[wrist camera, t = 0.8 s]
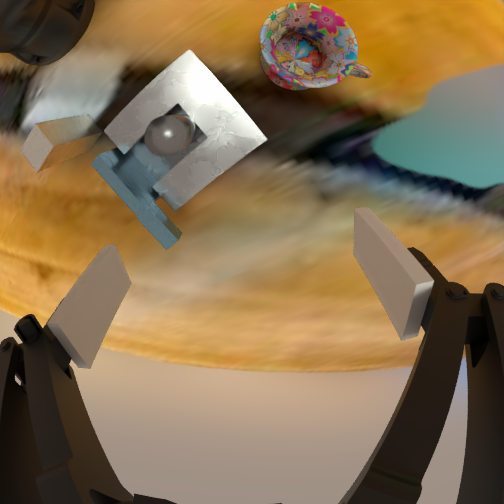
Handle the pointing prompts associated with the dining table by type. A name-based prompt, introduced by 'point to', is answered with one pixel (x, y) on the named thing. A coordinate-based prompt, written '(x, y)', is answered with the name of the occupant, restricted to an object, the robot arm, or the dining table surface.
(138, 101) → the notched panel with ball
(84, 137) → the grey rectangular block
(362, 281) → the dining table surface
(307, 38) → the mug
